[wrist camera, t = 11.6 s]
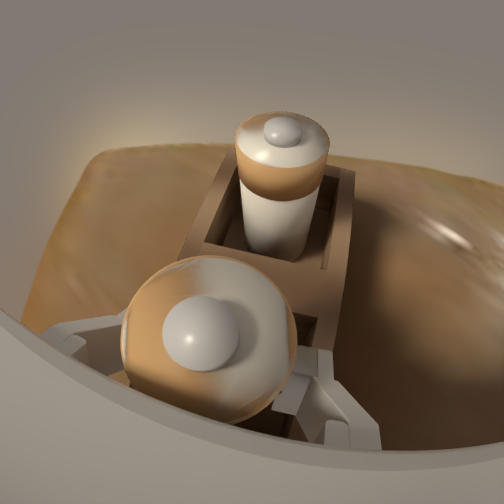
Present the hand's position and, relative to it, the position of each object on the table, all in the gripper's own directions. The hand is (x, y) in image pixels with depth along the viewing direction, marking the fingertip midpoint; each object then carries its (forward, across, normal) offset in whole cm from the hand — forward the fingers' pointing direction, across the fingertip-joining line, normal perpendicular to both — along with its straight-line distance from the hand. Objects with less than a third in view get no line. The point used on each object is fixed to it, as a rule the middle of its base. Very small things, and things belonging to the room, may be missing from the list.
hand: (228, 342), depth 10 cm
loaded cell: (+10, 0, -1) cm, 10 cm away
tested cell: (+3, 0, +4) cm, 5 cm away
